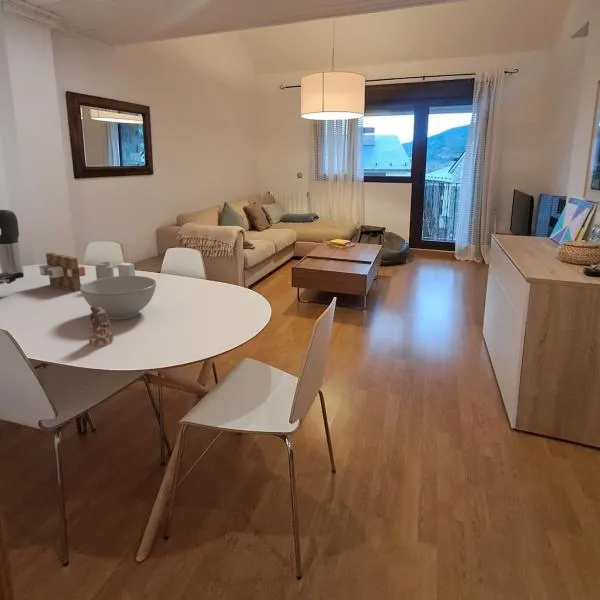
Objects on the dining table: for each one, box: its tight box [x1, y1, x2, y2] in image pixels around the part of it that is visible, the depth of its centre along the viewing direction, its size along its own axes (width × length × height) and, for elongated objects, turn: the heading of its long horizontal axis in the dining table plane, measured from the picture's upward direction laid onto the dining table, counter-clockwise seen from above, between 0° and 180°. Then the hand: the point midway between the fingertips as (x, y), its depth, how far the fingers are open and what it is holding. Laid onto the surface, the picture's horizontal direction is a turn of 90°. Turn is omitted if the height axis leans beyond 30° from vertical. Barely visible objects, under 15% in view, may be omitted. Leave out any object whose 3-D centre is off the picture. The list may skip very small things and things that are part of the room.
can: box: [95, 261, 115, 279], centre depth 209 cm, size 8×8×12 cm
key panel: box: [45, 252, 83, 292], centre depth 210 cm, size 21×6×15 cm, turn 57°
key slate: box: [38, 264, 54, 277], centre depth 210 cm, size 4×6×4 cm, turn 147°
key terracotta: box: [67, 265, 86, 278], centre depth 206 cm, size 4×6×4 cm, turn 147°
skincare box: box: [117, 262, 136, 276], centre depth 207 cm, size 6×4×12 cm
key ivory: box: [48, 266, 64, 278], centre depth 206 cm, size 4×6×4 cm, turn 147°
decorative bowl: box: [79, 275, 157, 321], centre depth 173 cm, size 27×27×12 cm
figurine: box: [88, 306, 115, 347], centre depth 146 cm, size 7×7×12 cm
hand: (22, 274), depth 200 cm, fingers closed
